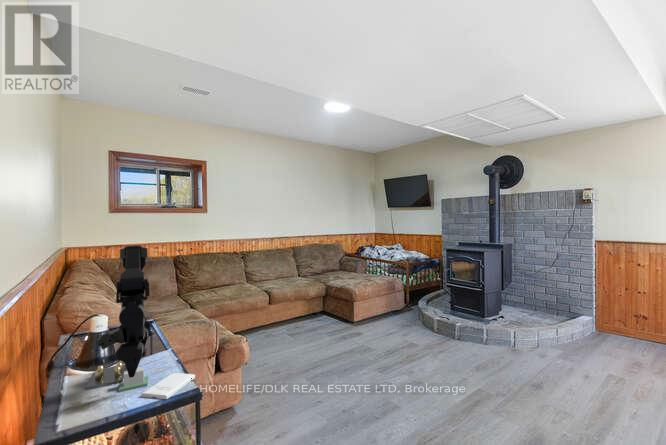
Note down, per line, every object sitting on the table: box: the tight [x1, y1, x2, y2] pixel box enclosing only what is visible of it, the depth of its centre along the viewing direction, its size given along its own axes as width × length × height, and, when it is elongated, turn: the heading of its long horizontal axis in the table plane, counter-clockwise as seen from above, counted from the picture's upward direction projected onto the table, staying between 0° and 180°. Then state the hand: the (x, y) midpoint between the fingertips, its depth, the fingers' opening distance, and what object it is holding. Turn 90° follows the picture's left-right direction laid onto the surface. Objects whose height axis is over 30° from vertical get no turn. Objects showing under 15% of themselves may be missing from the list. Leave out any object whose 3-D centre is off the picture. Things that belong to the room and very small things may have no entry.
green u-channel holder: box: [118, 367, 149, 393], centre depth 95 cm, size 5×7×4 cm
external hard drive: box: [140, 372, 196, 400], centre depth 94 cm, size 2×8×12 cm
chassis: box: [85, 361, 127, 391], centre depth 101 cm, size 13×9×3 cm
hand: (133, 370), depth 95 cm, fingers open, 9 cm apart
